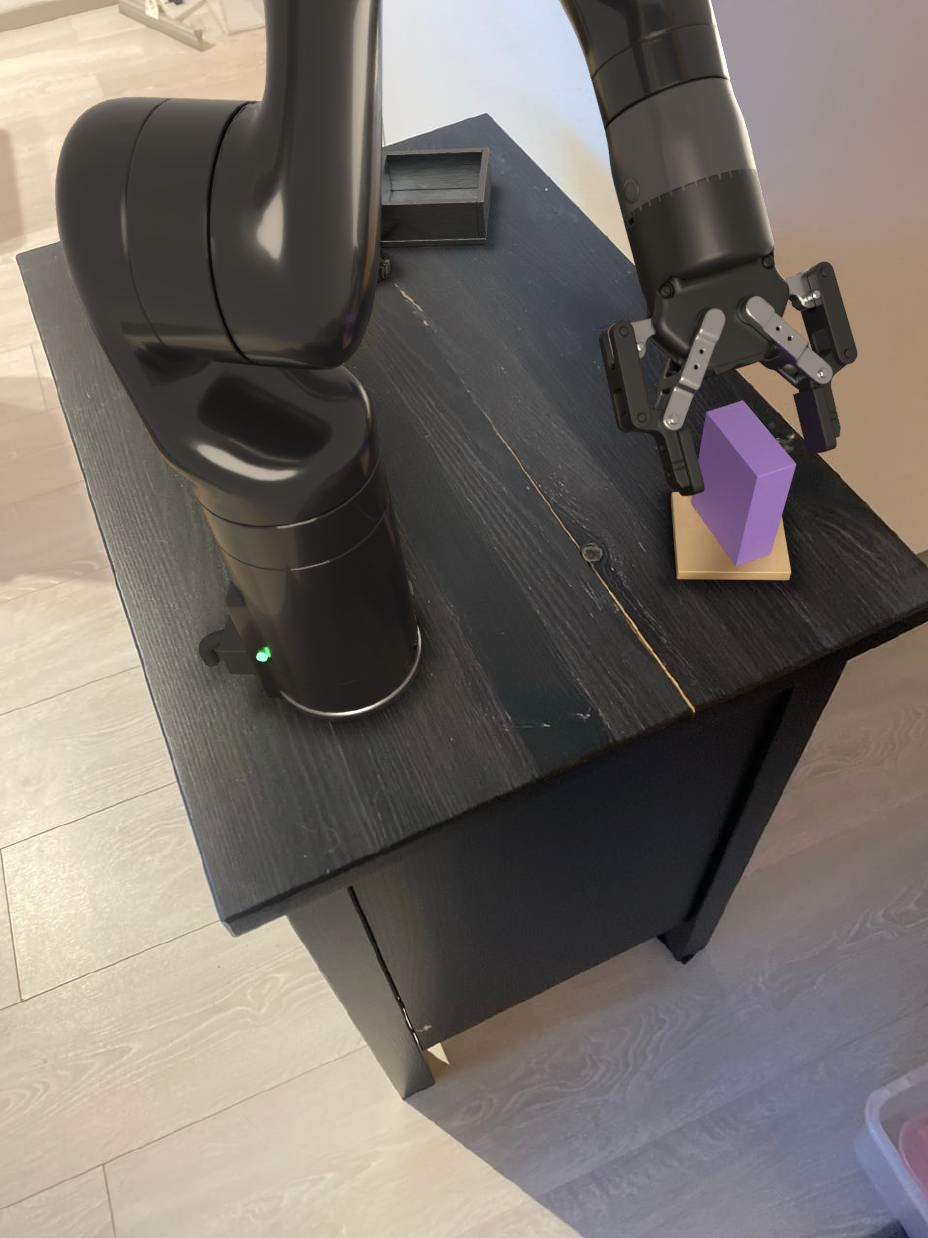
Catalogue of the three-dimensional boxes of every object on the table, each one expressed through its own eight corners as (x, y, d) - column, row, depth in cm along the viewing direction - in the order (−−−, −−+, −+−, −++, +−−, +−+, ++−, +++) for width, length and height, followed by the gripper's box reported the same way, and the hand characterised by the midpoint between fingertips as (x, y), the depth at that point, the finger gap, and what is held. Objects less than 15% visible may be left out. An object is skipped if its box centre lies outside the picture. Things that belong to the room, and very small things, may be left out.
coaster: (676, 579, 61) (677, 571, 60) (670, 499, 65) (671, 491, 64) (789, 580, 60) (791, 572, 59) (775, 499, 64) (778, 491, 63)
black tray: (375, 247, 86) (368, 204, 82) (387, 193, 91) (381, 150, 87) (485, 244, 84) (483, 201, 81) (491, 189, 90) (489, 146, 86)
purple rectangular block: (735, 566, 60) (757, 476, 53) (690, 503, 63) (705, 411, 57) (771, 554, 60) (796, 463, 54) (724, 492, 64) (743, 399, 57)
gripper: (767, 184, 58) (829, 443, 60) (551, 243, 56) (624, 509, 58) (838, 135, 50) (905, 432, 53) (592, 201, 48) (673, 507, 51)
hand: (758, 472), depth 55 cm, fingers open, 8 cm apart
